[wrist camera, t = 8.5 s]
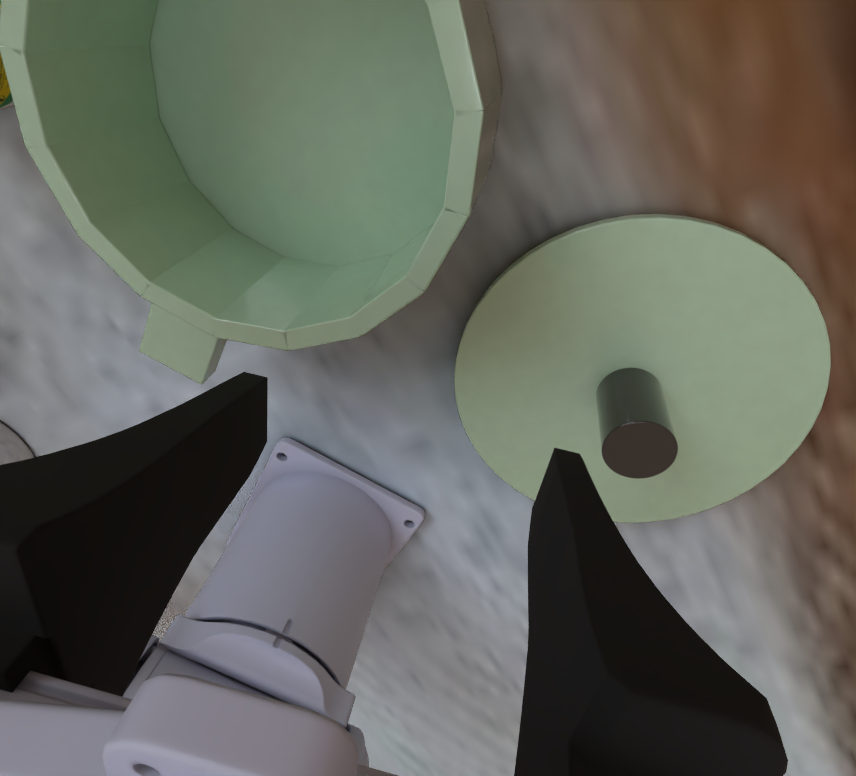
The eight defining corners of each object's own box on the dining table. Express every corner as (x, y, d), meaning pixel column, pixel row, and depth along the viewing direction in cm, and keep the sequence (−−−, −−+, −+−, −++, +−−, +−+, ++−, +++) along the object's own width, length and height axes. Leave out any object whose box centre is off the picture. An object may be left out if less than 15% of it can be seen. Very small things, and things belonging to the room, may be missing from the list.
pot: (642, -93, 16) (681, -144, 11) (368, 377, 25) (322, 466, 20) (220, -393, 14) (38, -614, 9) (101, 229, 24) (-19, 285, 19)
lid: (911, 337, 20) (993, 412, 16) (650, 548, 28) (665, 634, 24) (588, 128, 19) (597, 157, 15) (403, 412, 26) (376, 480, 22)
